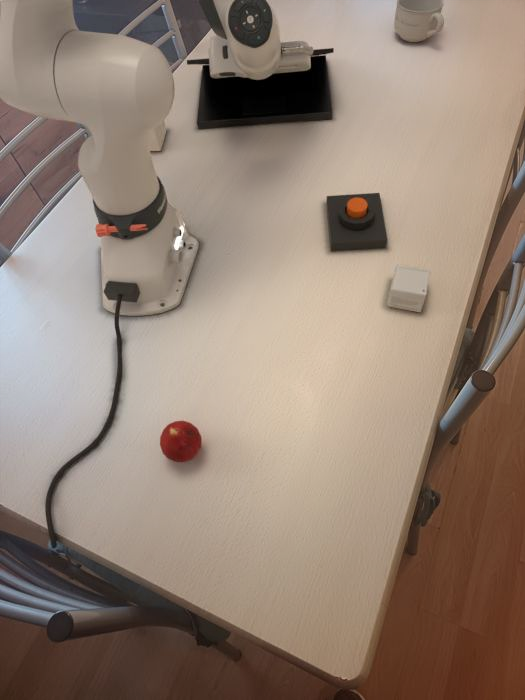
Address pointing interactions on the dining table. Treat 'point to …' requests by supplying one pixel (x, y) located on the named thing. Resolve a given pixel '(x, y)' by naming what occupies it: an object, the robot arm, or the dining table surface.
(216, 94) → the laptop
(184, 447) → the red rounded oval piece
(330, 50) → the laptop screen
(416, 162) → the dining table surface
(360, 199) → the switch button
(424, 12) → the teacup
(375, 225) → the switch block
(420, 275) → the small box
